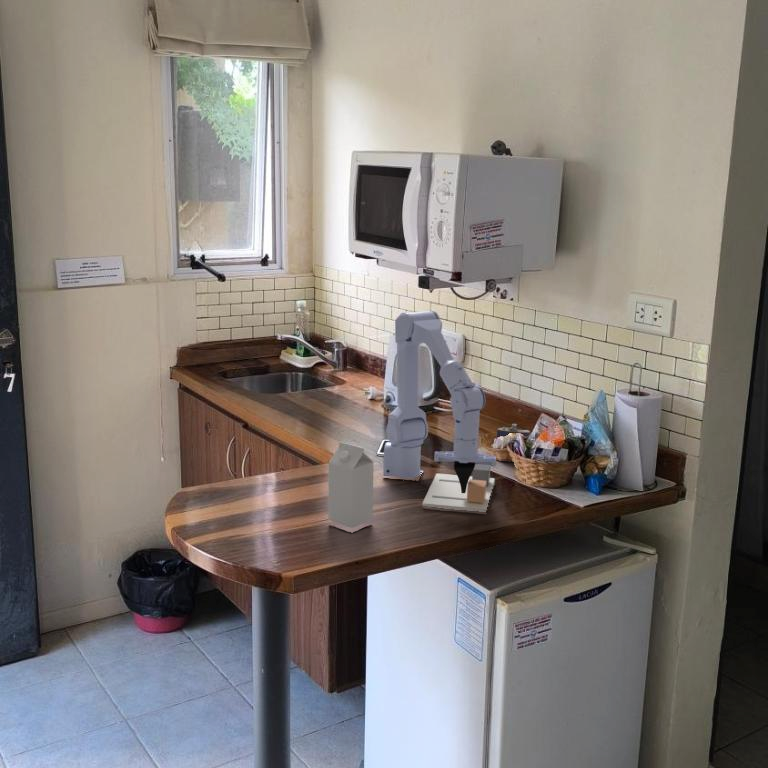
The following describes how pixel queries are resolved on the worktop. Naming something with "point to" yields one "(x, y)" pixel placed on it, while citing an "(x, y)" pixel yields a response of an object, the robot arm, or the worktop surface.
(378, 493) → the worktop surface
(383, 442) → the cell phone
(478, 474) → the charcoal slider
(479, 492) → the terracotta slider
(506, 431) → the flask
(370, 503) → the milk carton
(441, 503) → the slider panel
